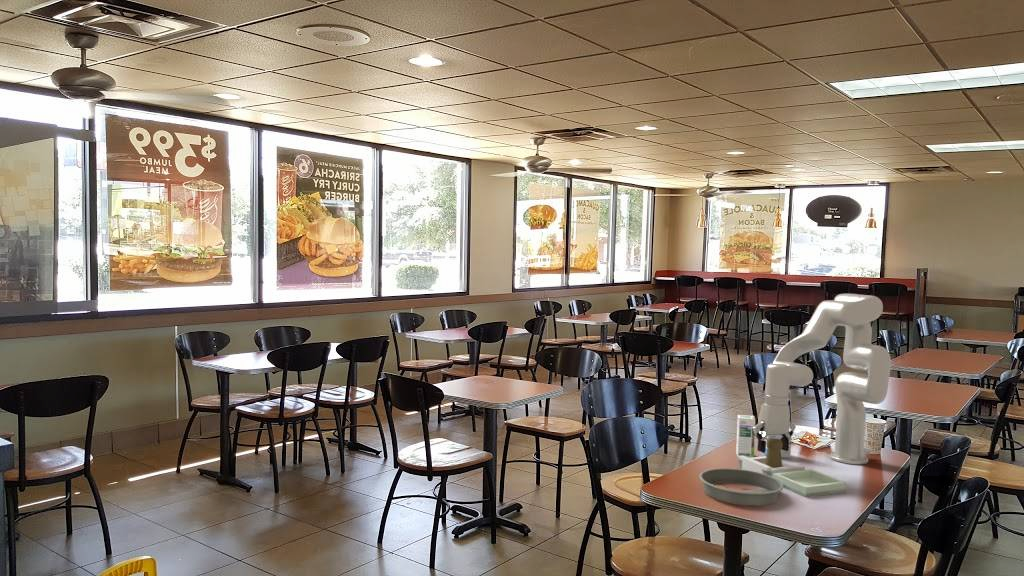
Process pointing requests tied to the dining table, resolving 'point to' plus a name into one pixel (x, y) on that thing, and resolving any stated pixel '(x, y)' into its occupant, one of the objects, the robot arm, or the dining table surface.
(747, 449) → the syrup box
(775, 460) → the cork
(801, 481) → the tray
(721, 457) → the dining table surface
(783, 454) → the ink box
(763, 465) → the dock
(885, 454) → the dining table surface
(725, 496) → the cake pan
